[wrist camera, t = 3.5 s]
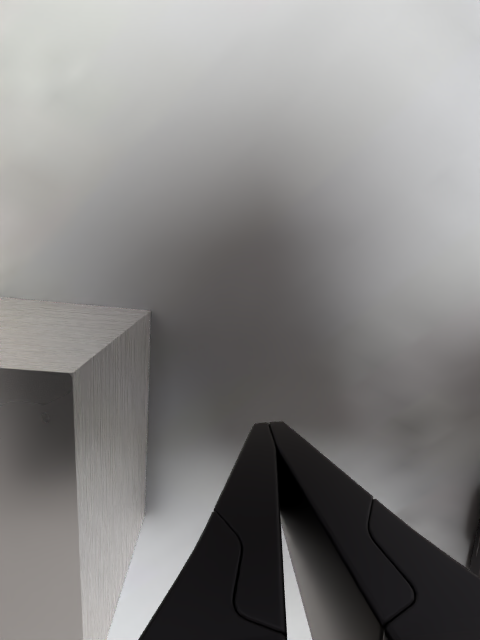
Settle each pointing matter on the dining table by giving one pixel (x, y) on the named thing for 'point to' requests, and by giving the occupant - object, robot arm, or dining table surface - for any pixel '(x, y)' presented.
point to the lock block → (69, 464)
